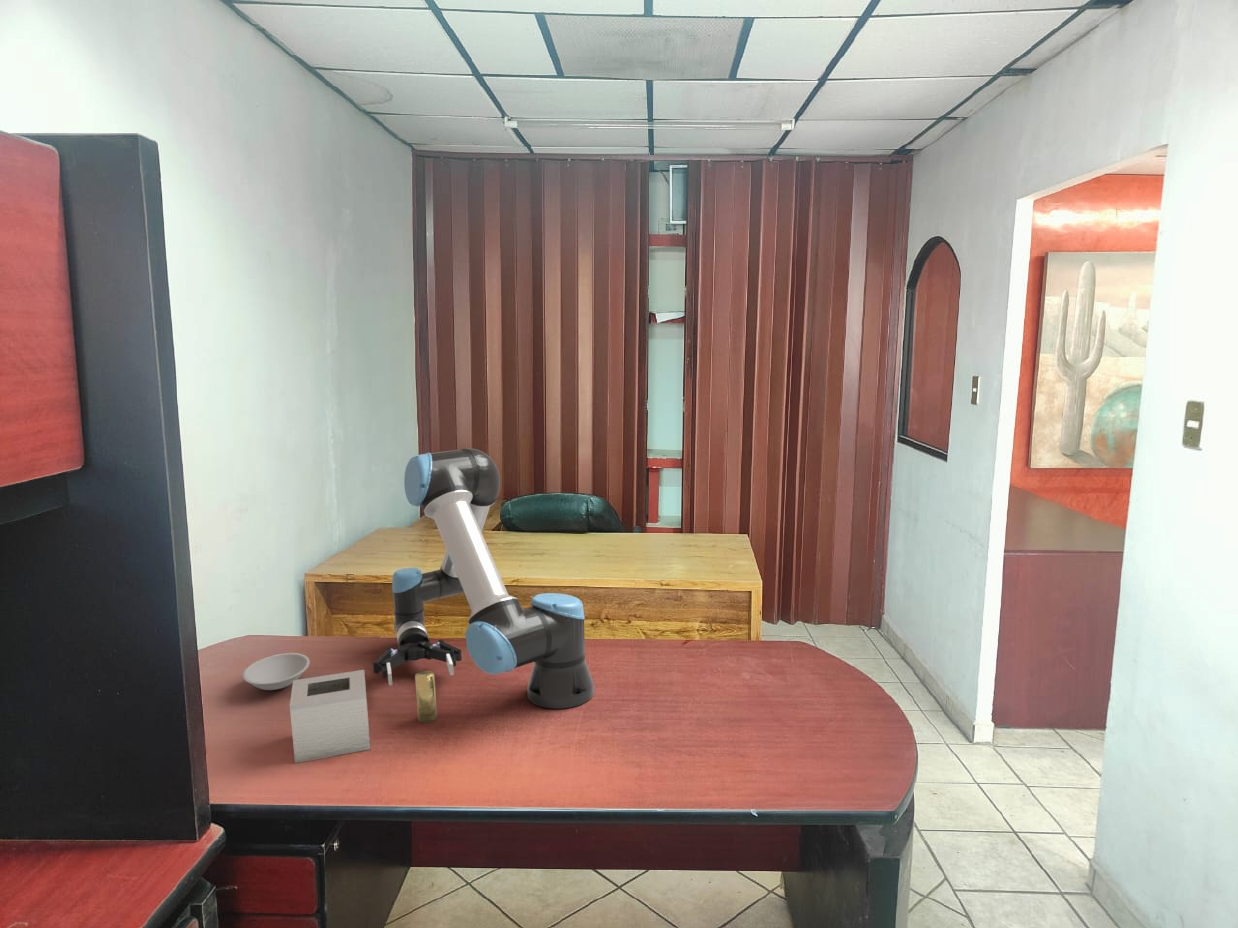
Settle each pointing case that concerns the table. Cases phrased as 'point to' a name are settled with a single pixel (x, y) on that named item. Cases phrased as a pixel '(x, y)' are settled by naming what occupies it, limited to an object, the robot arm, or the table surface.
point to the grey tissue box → (329, 716)
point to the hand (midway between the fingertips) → (421, 674)
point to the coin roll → (426, 696)
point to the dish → (276, 670)
